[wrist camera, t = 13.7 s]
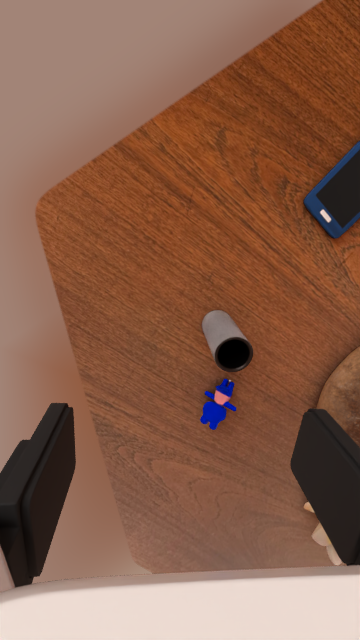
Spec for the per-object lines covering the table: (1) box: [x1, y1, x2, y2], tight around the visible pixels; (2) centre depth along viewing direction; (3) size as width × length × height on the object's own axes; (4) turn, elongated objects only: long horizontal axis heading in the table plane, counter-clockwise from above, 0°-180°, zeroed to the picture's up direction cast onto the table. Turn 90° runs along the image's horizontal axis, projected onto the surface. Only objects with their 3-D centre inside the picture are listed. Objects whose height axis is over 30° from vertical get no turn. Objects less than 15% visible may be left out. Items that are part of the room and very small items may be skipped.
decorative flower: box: [304, 502, 342, 565], centre depth 51 cm, size 15×11×10 cm
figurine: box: [200, 379, 236, 430], centre depth 43 cm, size 5×8×5 cm, turn 164°
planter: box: [202, 310, 253, 372], centre depth 37 cm, size 4×4×10 cm
